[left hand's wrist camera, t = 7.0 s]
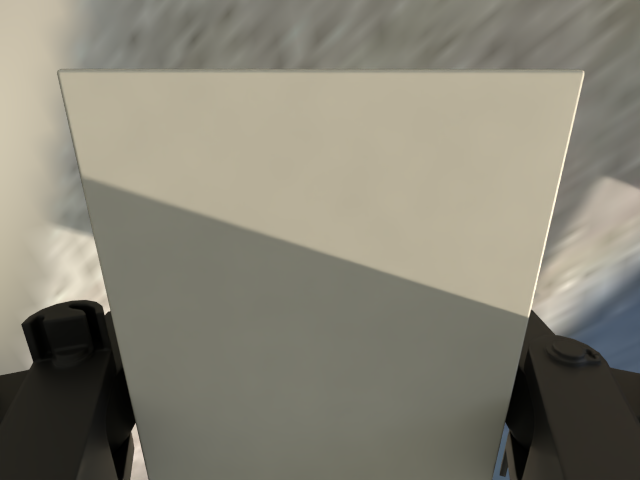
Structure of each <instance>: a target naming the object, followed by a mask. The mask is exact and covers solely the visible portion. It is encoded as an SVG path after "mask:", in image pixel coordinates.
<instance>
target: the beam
mask: <svg viewBox="0 0 640 480" xmlns="http://www.w3.org/2000/svg"><path fill="white" fill-rule="evenodd" d="M57 75H58V79H59V84H60V88H61V93H62V97H63V101H64V106H65V110H66V115H67V119H68V124H69V128H70V133H71V137H72V141H73V146H74V150H75V155H76V159H77V164H78V168H79V173H80V177H81V181H82V186H83V190H84V195H85V199H86V204H87V208H88V212H89V217H90V221H91V226H92V230H93V235H94V239H95V244H96V248H97V252H98V257H99V261H100V266H101V270H102V275H103V279H104V284H105V288H106V292H107V297H108V301H109V306H110V310H111V315H112V319H113V324H114V328H115V332H116V337H117V341H118V346H119V350H120V355H121V359H122V364H123V368H124V372H125V377H126V381H127V386H128V390H129V395H130V399H131V403H132V408H133V412H134V417H135V421H136V426H137V430H138V435H139V439H140V443H141V448H142V452H143V457H144V461H145V466H146V470H147V475H148V479H149V480H492V477H493V473H494V469H495V464H496V460H497V455H498V451H499V447H500V442H501V438H502V433H503V429H504V425H505V420H506V416H507V412H508V407H509V403H510V398H511V394H512V390H513V385H514V381H515V377H516V372H517V368H518V363H519V359H520V355H521V350H522V346H523V341H524V337H525V333H526V328H527V324H528V320H529V315H530V311H531V306H532V302H533V298H534V293H535V289H536V285H537V280H538V276H539V271H540V267H541V263H542V258H543V254H544V249H545V245H546V241H547V236H548V232H549V228H550V223H551V219H552V214H553V210H554V206H555V201H556V197H557V192H558V188H559V184H560V179H561V175H562V171H563V166H564V162H565V157H566V153H567V149H568V144H569V140H570V136H571V131H572V127H573V122H574V118H575V114H576V109H577V105H578V100H579V96H580V92H581V87H582V83H583V79H584V71H582V70H565V69H60V70H58V72H57Z"/></svg>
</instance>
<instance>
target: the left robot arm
mask: <svg viewBox="0 0 640 480" xmlns="http://www.w3.org/2000/svg"><path fill="white" fill-rule="evenodd" d="M21 325H22V328H23V331H24V334H25V337H26V341H27V344H28V347H29V350H30V353H31V356H32V359H33V364H32V366H31V368H30V369H29V370H26V371H21V372H16V373H11V374H5V375H0V480H130V477H131V470H132V462H133V455H134V443H133V438H132V433H131V430H132V429H133V427H134V425H135V423H136V421H135V417H134V412H133V408H132V403H131V399H130V395H129V390H128V386H127V381H126V377H125V372H124V368H123V364H122V359H121V355H120V350H119V346H118V341H117V337H116V332H115V328H114V324H113V319H112V315H111V311H110V312H108V313H107V314H106V315H104V311H103V306H101V305H100V304H99V303H97V302H94V301H88V300H78V301H69V302H64V303H59V304H56V305H53V306H50V307H47V308H45V309H42V310H40V311H38V312H37V313H35V314H33V315H31V316H29V317H28V318H27V319H26V320H25V321H24V322H23V323H22V324H21ZM505 422H506V424H507V426H508V428H509V433H508V438H507V442H506V446H505V451H504V455H503V459H502V464H501V469H500V476H504V477H505V476H506V472H507V468H508V469H509V476H510V480H640V374H639V373H634V372H629V371H624V370H619V369H614V368H610V367H609V365H608V363H607V361H606V360H605V359H604V358H603V357H602V356H601V354H600V353H599V352H597V351H596V350H594V349H593V348H591V347H590V346H588V345H586V344H584V343H581V342H579V341H577V340H574V339H571V338H567V337H563V336H559V335H555V334H554V333H553V332H552V331H551V330H550V329H549V328H548V327H547V325H546V324H545V323H544V322H543V321H542V320H541V319H540V318H539V317H538V316H537V315H536V314H535V313H534V311H533V310H531V311H530V315H529V320H528V324H527V328H526V333H525V337H524V341H523V346H522V350H521V355H520V359H519V363H518V368H517V372H516V377H515V381H514V385H513V390H512V394H511V398H510V403H509V407H508V412H507V416H506V420H505Z"/></svg>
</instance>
